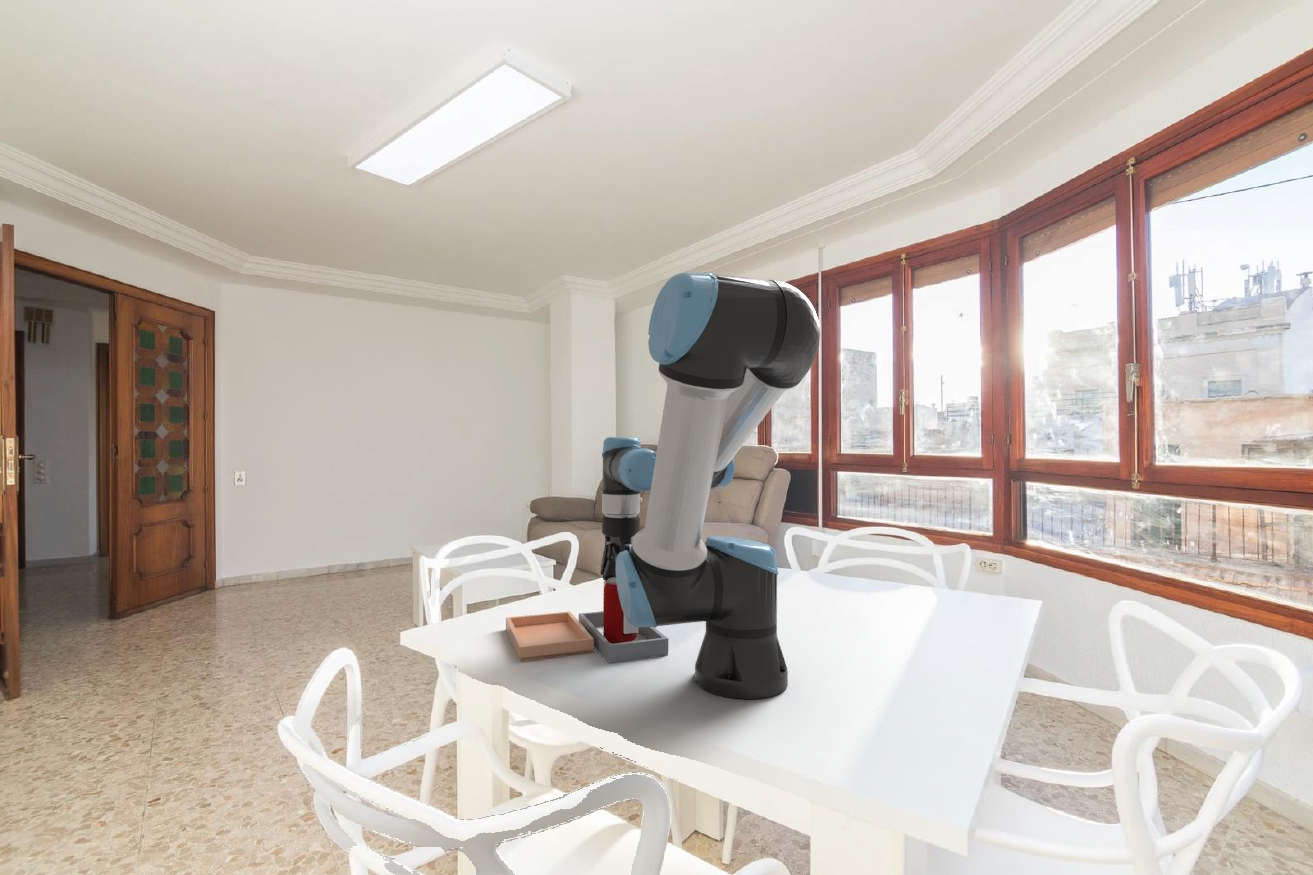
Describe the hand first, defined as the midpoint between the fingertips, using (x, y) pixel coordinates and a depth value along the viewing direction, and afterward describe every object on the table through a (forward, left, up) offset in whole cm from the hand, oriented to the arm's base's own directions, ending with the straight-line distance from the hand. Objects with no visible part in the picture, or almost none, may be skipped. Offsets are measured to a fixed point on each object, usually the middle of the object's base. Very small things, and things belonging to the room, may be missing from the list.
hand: (620, 622), depth 119 cm
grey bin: (0, 0, -4) cm, 4 cm away
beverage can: (0, 0, -4) cm, 4 cm away
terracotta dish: (+5, +14, -4) cm, 15 cm away
